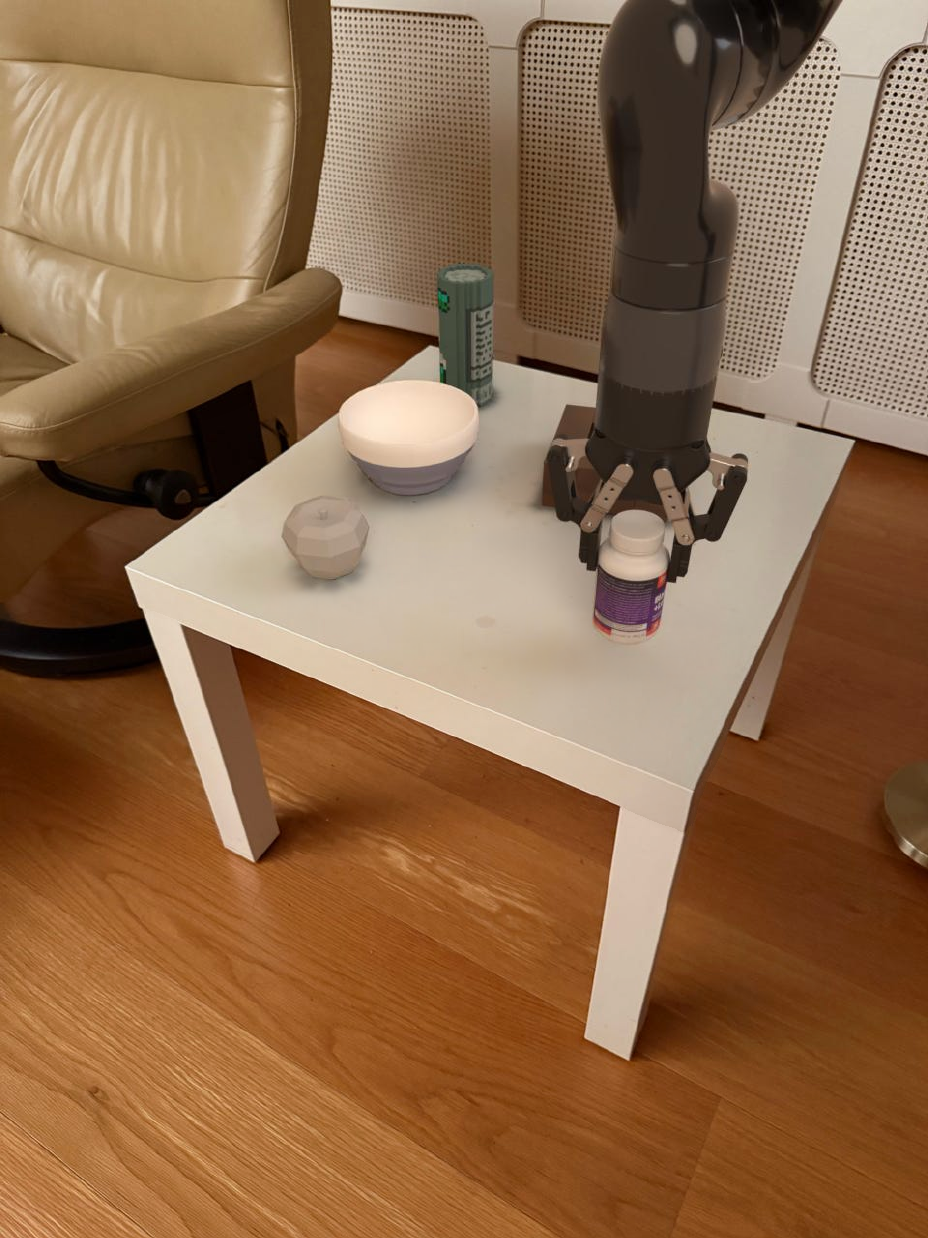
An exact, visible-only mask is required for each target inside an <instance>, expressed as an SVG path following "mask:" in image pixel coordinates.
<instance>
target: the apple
mask: <svg viewBox="0 0 928 1238" xmlns="http://www.w3.org/2000/svg"><path fill="white" fill-rule="evenodd" d="M369 531H370V524H369V523H368V521H367V519H366V517H365V514H364V512H362V511H361V510H360V509H359V508H358V507H357V506H356V504H354V503H353V502H352V501H351V499H349V498H342V497H334V496H326V495H325V496H324V495H320V496H317V497H314V498H311V499H309V500H305V501H302V502H299V503H297V504H295V505H294V506H293V507H292V509H291V511H290V512H289V514H288V516H287V517H286V519H285V520H284V523H283V527H282V533H281V539H282V540H283V542H284V544H285V546H286V548H287V550H288V552H289V553H290V554H291V556H292V557H293V558H294V559H295V561H297V562H298V563H299V564H300V565H301V567H302V568H303V569H304V570H305V571H306V572H307V573H308V574H309V575H310V576H311V577H314V578H316V579H325V580H336V579H339V578H341V577H344V576H346V575H349V574H350V573H352V572H353V571H354V569H355V568H356V566H357V565H358V563H359V561H360V558H361V557H362V554H363V552H364V550H365V547H366V544H367V540H368V536H369Z"/></svg>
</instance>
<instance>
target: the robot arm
mask: <svg viewBox="0 0 928 1238" xmlns="http://www.w3.org/2000/svg"><path fill="white" fill-rule="evenodd" d="M843 1H844V0H625V1H624V2H623V4H621V6H620V7H619V9H618V11H617V12H616V14H615V16H614V18H613V20H612V22H611V23H610V26H609V29H608V31H607V34H606V37H605V40H604V42H603V47H602V48H601V49H602V50H601V54H600V59H599V64H598V72H597V82H596V83H597V84H596V90H597V91H596V96H597V108H598V117H599V124H600V132H601V138H602V145H603V150H604V159H605V164H606V170H607V171H606V172H607V177H608V184H609V190H610V194H611V195H610V196H611V201H612V203H613V210H614V216H615V217H614V218H615V226H614V233H613V240H612V241H613V242H612V253H611V265H610V276H609V279H610V280H609V289H608V297H607V301H606V305H605V311H604V314H603V318H602V319H603V320H602V327H601V338H600V349H599V351H600V352H599V361H598V362H599V364H598V373H597V375H598V376H597V389H596V400H595V408H596V411H595V423H594V429H593V431H592V432H591V433H590V435H589V437H588V438H587V439H571V440H569V437H568V436H567V435H565V434H563V433H559V434H556V435H555V434H554V435H555V436H553V438H552V441H551V443H550V445H549V449H548V450H547V453H546V456H547V462H548V468H549V474H550V480H551V486H552V492H553V498H554V503H555V507H554V509H555V514H556V518H557V519H558V520H559V521H560V522H563V523H568V522H572V523H574V524H575V525H577V526H578V527H579V530H580V531H579V532H580V534H579V546H578V559H579V562H580V563H581V564H586V567H585V569H586V571H589V572H596V570H597V559H598V551H599V548H600V546H601V544H602V532H603V523H604V522H603V521H604V517H605V515H607V514H606V513H608V512H609V510H610V508H611V507H612V505H613V504H614V502H615V501H616V499H617V498H618V496H619V498H618V500H625V501H634V500H643V501H645V502H648V503H651V504H658V505H664V508H665V511H666V514H667V517H668V519H667V521H668V522H670V523H671V526H672V528H673V531H674V533H673V539H672V546H671V552H670V564H669V570H668V577H667V583H669V584H671V583H672V584H677V579H678V578H685V577H686V575H687V574H688V572H689V566H690V561H691V555H692V549H693V545H694V544H695V543H696V542H697V541H700V540H706V541H708V542H710V543H715V542H718V541H720V540H721V538H722V536H723V534H724V532H725V530H726V528H727V525H728V523H729V521H730V519H731V516H732V514H733V512H734V510H735V508H736V506H737V504H738V501H739V499H740V497H741V495H742V492H743V491H744V488H745V486H746V484H747V482H748V473H749V458H748V456H747V455H745V454H744V453H739V452H738V453H735V454H732V455H731V457H730V456H727V455H723V454H719V453H716V452H713V451H712V448H711V445H710V444H709V442H708V434H709V433H708V432H709V427H710V422H711V415H712V409H713V404H714V399H715V394H716V387H717V381H718V375H719V370H720V365H721V363H720V362H721V359H722V357H723V354H724V340H725V334H726V325H727V323H726V322H727V301H728V300H727V299H728V293H729V292H728V291H729V285H730V281H731V274H732V268H733V262H734V256H735V251H736V245H737V239H738V233H739V225H740V207H739V200H738V198H737V196H736V194H735V192H734V191H733V189H731V188H730V187H729V186H727V184H725V183H723V182H722V181H719V180H717V179H714V178H711V177H710V162H709V141H710V135H711V132H713V131H716V130H719V129H723V128H726V127H730V126H733V125H736V124H739V123H742V122H743V121H745V120H747V119H749V118H751V117H752V116H754V115H756V114H757V113H759V112H760V111H761V110H763V108H764V107H766V106H767V105H768V104H769V103H770V102H772V100H773V99H775V98H776V96H777V95H778V94H779V93H780V92H781V91H782V90H783V89H784V88H785V87H786V86H787V85H788V84H789V83H790V81H791V80H792V79H793V78H794V76H795V75H796V74H797V73H798V71H799V70H800V69H801V67H802V66H803V64H804V63H805V61H806V60H807V59H808V57H809V56H810V54H811V53H812V51H813V50H814V48H815V46H816V45H817V43H818V42H819V40H820V39H821V36H822V35H823V33H824V32H825V30H826V29H827V27H828V26H829V24H830V22H831V21H832V19H833V17H834V15H836V12H837V11H838V10H839V8H840V6H841V5H842V3H843ZM585 456H586V457H587V459H588V460H589V462H590V463H591V465H592V466H593V467H594V469H595V470H596V472H597V473H598V475H599V476H600V478H601V480H600V481H599V483H598V486H597V488H596V490H595V491H594V493H593V494H592V496H591V498H590V499H589V501H588V502H587V501H585V500H582V499H580V498H578V492H577V485H576V479H575V472H574V471H575V470H576V469H577V468H578V466H579V463H580V460H581V458H582V457H585ZM707 471H708V472H709V473H711V475H712V479H711V480H712V486H713V487H714V488H715V489H716V490H715V493H714V495H713V498H712V500H711V502H710V505H709V507H708V509H707V511H706V513H703V514H696V512H695V509H694V506H693V503H692V497H691V492H690V488H689V487H690V486H691V485H692V484H693V483H695V482H696V480H698V479H699V478H700V477H701V476H703V474H704V473H705V472H707Z"/></svg>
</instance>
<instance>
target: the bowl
mask: <svg viewBox="0 0 928 1238" xmlns="http://www.w3.org/2000/svg"><path fill="white" fill-rule="evenodd" d="M479 415H480V414H479V406H477V405H476V403H475V401H474V400H473V399H472V398H471V397H470V396H469V395H468V394H466V393H465V392H463V391H462V390H460V389H458V388H455V387H453V386H450V385H447V384H443V383H440V381H432V380H421V379H403V380H394V381H388V382H383V383H378V384H375V385H371V386H369V387H366V388H364V389H362V390H359V391H357V392H356V393H354V394H353V395H351V396H350V397H349V398H347V399H346V400H345V402H343V403H342V405H341V407H340V408H339V410H338V416H337V420H338V421H337V428H338V431H339V434H340V435H339V436H340V440H341V444H342V446H343V447H344V449H345V450H346V451H347V453H348V455H349V456H350V457H351V459H352V460H353V461H354V462H355V463H356V465H357V466H358V468H359V469H360V471H362V472H363V473H364V474H365V475H367V477H369V478H370V479H371V481H372V482H373V483H374V484H375V485H376V486H377V487H378V488H379V489H382V490H383V491H385V492H387V493H391V494H395V495H401V496H418V495H424V494H429V493H431V492H435V491H437V490H439V489H441V488H443V487H445V486H446V485H447V484H448V483H449V482H450V481H451V479H452V478H453V476H454V474H455V473H456V472H457V471H458V470H459V469H460V468H461V466H462V465H463V464H464V463H465V460H466V458H467V456H468V455H469V454H470V453H471V451H472V449H473V446H474V444H475V443H476V441H477V439H478V435H479V432H480V431H479V428H480V416H479Z"/></svg>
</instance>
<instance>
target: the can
mask: <svg viewBox="0 0 928 1238" xmlns="http://www.w3.org/2000/svg"><path fill="white" fill-rule="evenodd" d="M494 283H495V273H494V271H493V269H490V268H489V267H488V266H484V265H480V264H476V263H474V264H471V263H460V264H459V263H456V264H454V265H450V264H449V265H447V266H445V267H443V268H440V269H439V270H438V272H436V294H437V295H436V296H437V297H436V298H437V299H436V300H437V328H438V329H437V330H438V355H439V356H438V358H439V359H438V360H439V383H443V384H447V385H450V386H453V387H455V388H458V389H460V390H462V391H463V392H465V393H466V394H468V395H469V396H470V397H471V398H472V399H473V400H474V401H475V403H476V405H477V407H480V408H481V407H483V406H484V405H487V403H489V402H491V401H492V398H493V381H494V380H493V379H494V378H493V375H494V374H493V373H494V372H493V371H494V370H493V369H494V368H493V367H494V290H495V289H494V285H495V284H494Z"/></svg>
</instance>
